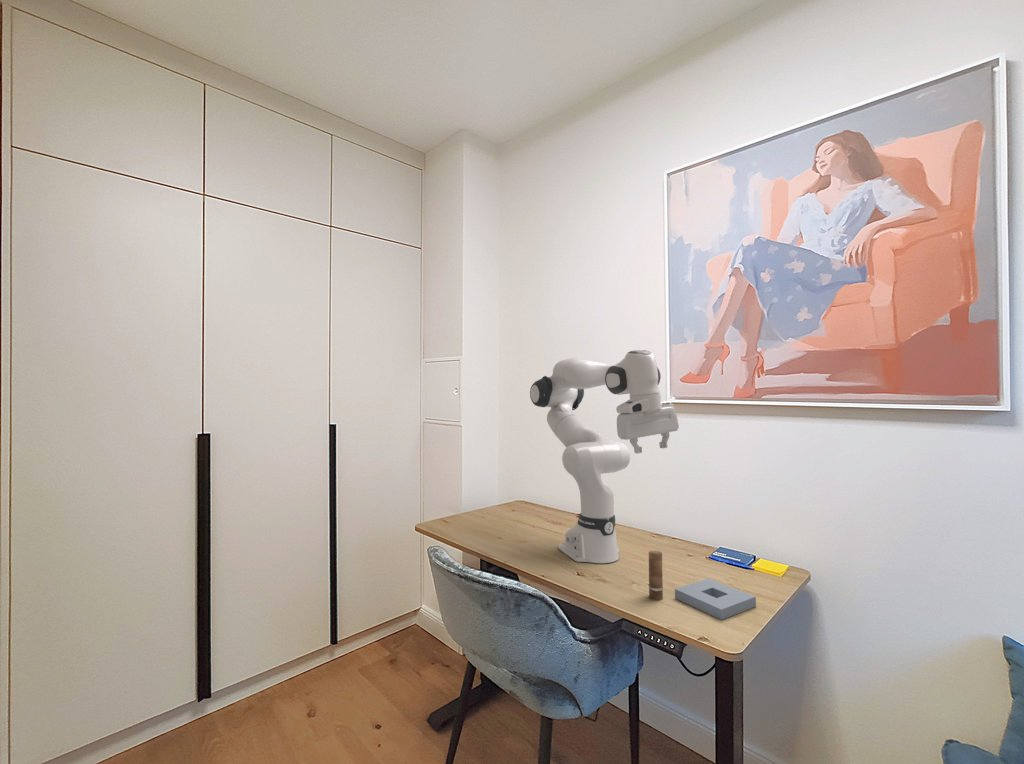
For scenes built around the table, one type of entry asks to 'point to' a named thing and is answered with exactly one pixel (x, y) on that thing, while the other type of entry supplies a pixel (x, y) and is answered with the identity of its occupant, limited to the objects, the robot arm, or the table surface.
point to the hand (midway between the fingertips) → (651, 450)
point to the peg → (655, 575)
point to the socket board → (715, 598)
